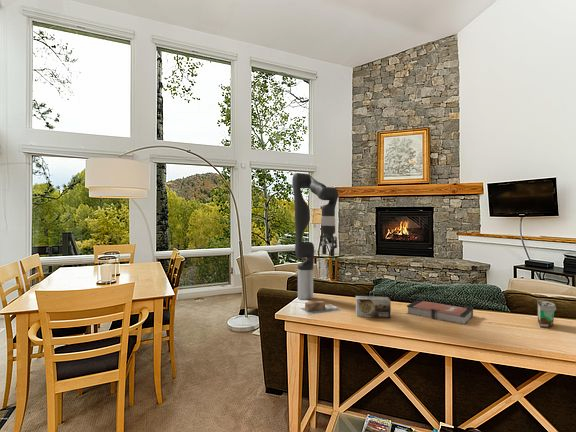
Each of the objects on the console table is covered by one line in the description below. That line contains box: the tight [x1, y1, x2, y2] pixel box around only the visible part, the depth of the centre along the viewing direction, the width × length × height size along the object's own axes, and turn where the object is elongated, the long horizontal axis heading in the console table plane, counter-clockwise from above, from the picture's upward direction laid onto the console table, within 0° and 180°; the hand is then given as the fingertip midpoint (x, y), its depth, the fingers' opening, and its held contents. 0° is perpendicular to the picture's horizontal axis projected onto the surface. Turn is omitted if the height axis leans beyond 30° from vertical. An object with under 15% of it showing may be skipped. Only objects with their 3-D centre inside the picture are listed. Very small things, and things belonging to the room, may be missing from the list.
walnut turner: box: [304, 300, 338, 313], centre depth 172 cm, size 16×7×4 cm, turn 112°
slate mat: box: [300, 307, 342, 316], centre depth 172 cm, size 12×18×1 cm, turn 112°
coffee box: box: [355, 295, 392, 319], centre depth 163 cm, size 9×6×16 cm
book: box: [406, 297, 474, 326], centre depth 164 cm, size 26×18×5 cm
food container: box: [537, 299, 557, 329], centre depth 148 cm, size 12×6×10 cm, turn 148°
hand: (328, 255), depth 176 cm, fingers open, 8 cm apart
